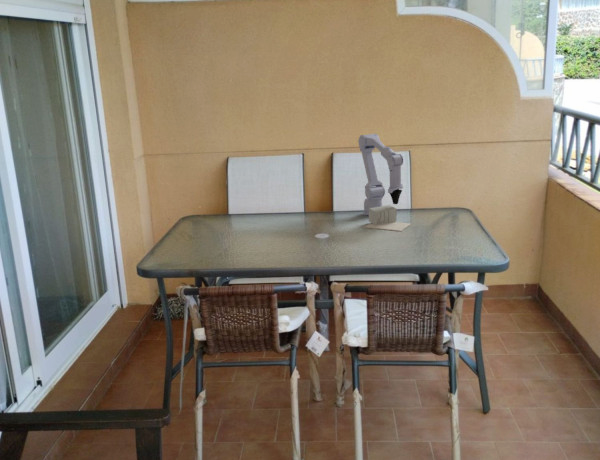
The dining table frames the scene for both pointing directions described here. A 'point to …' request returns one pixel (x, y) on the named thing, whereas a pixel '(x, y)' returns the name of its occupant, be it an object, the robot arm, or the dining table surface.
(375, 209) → the supplement box
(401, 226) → the mat
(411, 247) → the dining table surface
